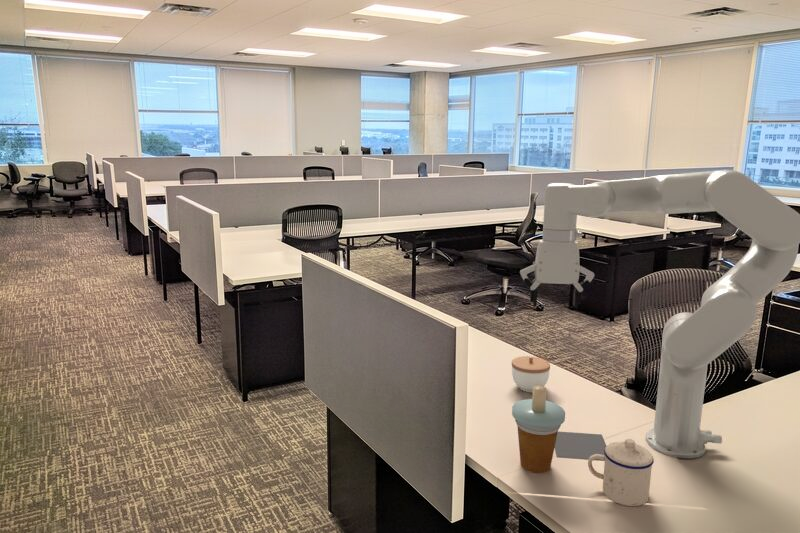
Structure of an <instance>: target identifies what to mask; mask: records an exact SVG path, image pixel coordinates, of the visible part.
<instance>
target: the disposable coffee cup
mask: <svg viewBox="0 0 800 533" xmlns="http://www.w3.org/2000/svg"><path fill="white" fill-rule="evenodd" d="M514 421H515V423H516V425H517V436H518V448H519V449H518V451H519V459H520V463H519V464H520V466H521V467H522V469H524V470H525V471H527V472H529V473H533V474H544V473H545V474H546V473H547V472H549V471H550V470H551V466H552V462H553V461H552V460H553V457H554V452H555V448H554V447H555V443H556V438H557V433H558V432H559V429H560V428H561V425H562V424H561V425H559V426H556V427H551V428H538V427H532V426H528V425H525V424H523V423H520V422H519V421H517V420H516V419H515V418H514Z"/></svg>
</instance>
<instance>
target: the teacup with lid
mask: <svg viewBox="0 0 800 533" xmlns="http://www.w3.org/2000/svg"><path fill="white" fill-rule="evenodd" d="M606 446H607V447H606V448H605V450H604V454H605V455H601V454H594V455H592V456H590V458H589V460H588V459H587V460H588V462H587V465H588V466H587V467H588V470H589V472H590V473H591V475H593V476H594V477H595V478H598V479H600V480H602V491H603V493H604V495H605V496H606V497H608V499H610V501H612V502H615V503H617V504H619V505H622V506H625V507H626V506H627V507H640V506H642V505H644V504H645V505H646V503H647V502H648V500H649V497H650V487H651V479H652V478H651V476H652V467H653V464H654V462H655V461H654V460H655V459H654V457H653V454H652V452H650V450H648V449H647V448H646V447H644V446H643V445H640V444H637V443H636V442H635V440H633V439H631V438H627V439H624V441H614V442H611V443H609V444H608V445H607V444H606ZM594 459H601V460H605V461H604V464H603V466H604V467H603V473H600V472H598V471H596V469H595V468H594V467H593V461H595V460H594ZM601 460H600V461H601Z"/></svg>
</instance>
